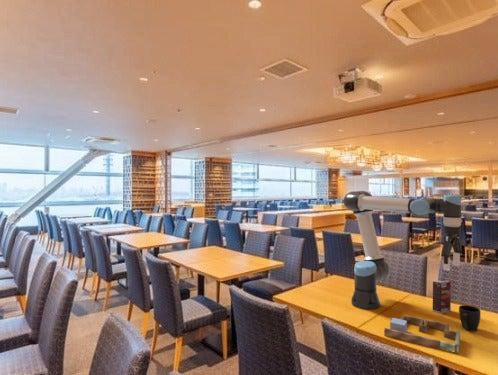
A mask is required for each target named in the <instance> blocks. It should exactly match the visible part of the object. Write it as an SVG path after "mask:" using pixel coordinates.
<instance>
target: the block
mask: <svg viewBox="0 0 498 375" xmlns="http://www.w3.org/2000/svg"><path fill="white" fill-rule="evenodd" d="M392 318H393V319H392V320H391V319H390V323H389V326H390V328H389V329H392V330H396V331H401V332H405V333H408V323H407V321H406V320H401V318H396V317H392Z"/></svg>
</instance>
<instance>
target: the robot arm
mask: <svg viewBox="0 0 498 375" xmlns="http://www.w3.org/2000/svg"><path fill="white" fill-rule="evenodd" d="M342 203H343V205H344V208H346V209H347V210H349V211H352V213H353V214H352V215H353V216H355V217H356V219H357V224H358V229H359V233H360V238H361V241H362V245H363V246H362V247H363V251H364V252H363V253H364V255H365V256H364V257H363V260H361V261H357V262H356V263H355V264H354V269H353V272H354V274H353V275H354V276H353V277H354V278H353V279H354V281H353V282H354V285H353V286H354V291H353V294H352V296H351V300H350V301H351V305H352V306H354V307H356V308H358V309H363V310H377V309H379V308H380V307H381V301H380V299H379V296H378V293H377V283H379V282H382V281H384V280H385V279H386V278H388V276H389V275H390V272H391V268H390V264H389V263H388V262H387V261H386V259H385V256H384V255H382V254H381V250H380V246H379V242H378V237H377V232H376V228H375V225H374V220H373V216H372V214H373V213H374V211H380V212H381V211H383V212H391V213H392V212H393V213H402V214H413V215H414V214H415V215H419V216H423V215H425V214H431V213H432V214H443V219H442V220H443V222H442V224H443V227H442V228H443V229H442V232H443V233H444V234H445V235H446V236H444V237H443V244H442V250H441V255H440V256H441V257H442V259H443V260H442V262H443V263H442V270H443V271H446V272H447V271H448V272H450V271H451V257H450V255H451V252H452V249H453V255H452V256H453V257H452V261H453V262H452V265H453V266H456V267H460V266H461V261H460V260H461V259H460V258H461V254H463V251H462V245H461V240H460V235H461V234H462V227H461V226H462V222H463V219H462V205H463V203H462V196H461V195H458V194H457V195H456V194H444V195H443V198H435V197H434V198H430V197H420V198H407V197H390V196H374V195H372V194H371V193H370V192H368V191H366V190H365V191H364V190H359V191H358V190H357V191H349V192H348V193H346V194H345V196H344V197H343V201H342Z"/></svg>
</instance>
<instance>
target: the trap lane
mask: <svg viewBox="0 0 498 375" xmlns="http://www.w3.org/2000/svg"><path fill="white" fill-rule="evenodd" d="M393 318H394V317H391V318H390V321H391V320H392V319H393ZM400 319H401V320H406V321H407V324H412V325H415V326H416V325H417V326H418V332H421V333H425V334H427V332H428V329H429V328H430V329H434V330H439V331H444V332H443V333H444V335H443V337H444V338H447V339H451V340H455V341H454V343H451V342H448V341H443V340H439V339H434V338H430V337H426V336H422V335H418V334H417V335H416V334H413V333H408V332H407V333H405V332H401V331H396V330H392V329H390V328H387V327H384V328H383V329H384V330H383V332H384V336H385V337H390V338H394V339H397V340H401V341H404V342H408V343H409V342H410V343H412V344H413V343H414V344H417V345H422V346H426V347H430V348H433V349H437V348H438V349H437V350H441V349H443V350H442V351H445V350H448V351H447V352H449V351H454V352H457V353H460V343H461V342H460V341H461V331H460V330H456V331H455V330H450V324H449V323H445V322H439V321H435V320H432V319H431V320H430V319H424V318H421V317H415V316H410V315H405V314H402V316H401V317H400ZM457 353H456V354H457Z"/></svg>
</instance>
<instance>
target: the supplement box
mask: <svg viewBox="0 0 498 375" xmlns="http://www.w3.org/2000/svg"><path fill="white" fill-rule="evenodd" d="M451 286H452V285H451V281H450V280H446V279H439V280H433V281H432V312H435V313H438V314H444V313H448V312H451V310H452V309H451V308H452V306H451V302H452V300H451V294H452V292H451V289H452V288H451Z"/></svg>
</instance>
